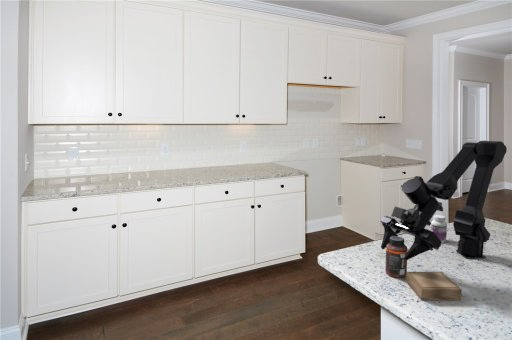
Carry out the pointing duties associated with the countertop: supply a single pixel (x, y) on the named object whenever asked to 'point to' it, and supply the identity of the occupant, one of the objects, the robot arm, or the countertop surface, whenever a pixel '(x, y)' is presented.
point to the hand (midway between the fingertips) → (393, 253)
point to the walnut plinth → (433, 286)
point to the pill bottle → (439, 227)
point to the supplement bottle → (396, 257)
